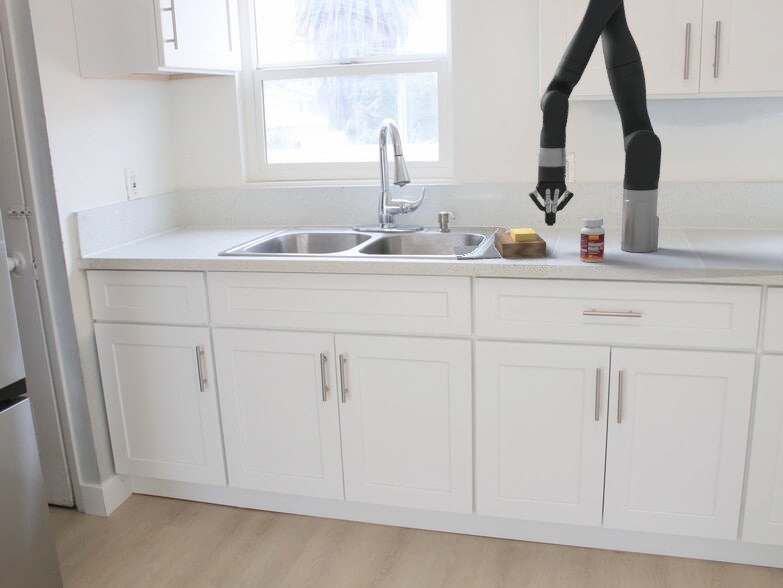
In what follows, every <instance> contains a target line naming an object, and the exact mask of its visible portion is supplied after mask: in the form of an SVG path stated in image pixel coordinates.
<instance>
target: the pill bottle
mask: <svg viewBox="0 0 783 588" xmlns="http://www.w3.org/2000/svg"><path fill="white" fill-rule="evenodd" d="M603 225H604V218H603V217H599V216H598V217H596V216H588V217H583V219H582V226H584V227H582V228H581V229H580V244H579V245H580V250H579V251H580V252H579V259H580V261H582V262H583V263H584V262H586V263H600V262H602V261H604V260H605V258H604V257H605V235H606V232H605V229H604V228H603Z"/></svg>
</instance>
